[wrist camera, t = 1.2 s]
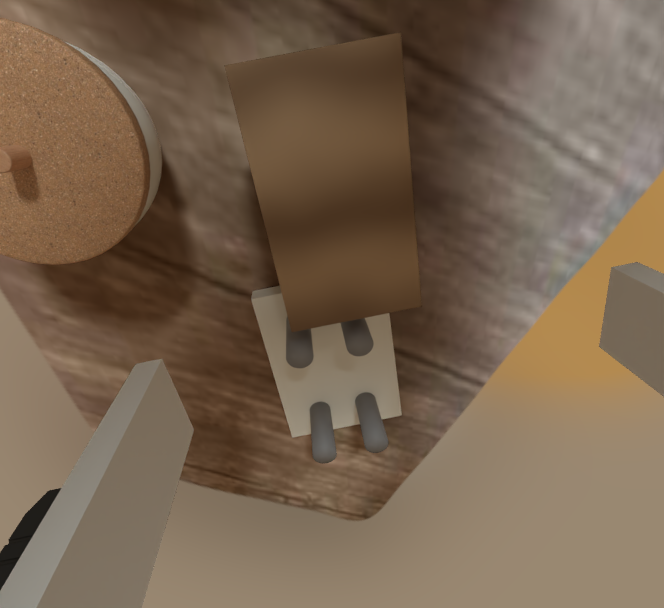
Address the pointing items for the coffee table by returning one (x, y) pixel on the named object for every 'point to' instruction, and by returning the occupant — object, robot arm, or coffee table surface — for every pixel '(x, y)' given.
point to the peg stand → (331, 374)
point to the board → (333, 177)
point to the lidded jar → (69, 151)
